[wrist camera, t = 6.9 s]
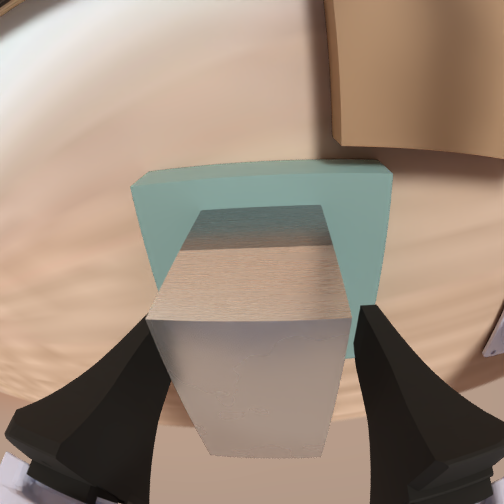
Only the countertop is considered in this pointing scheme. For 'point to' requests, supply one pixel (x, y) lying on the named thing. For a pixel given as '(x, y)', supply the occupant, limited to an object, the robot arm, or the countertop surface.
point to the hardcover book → (8, 5)
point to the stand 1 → (276, 194)
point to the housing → (255, 330)
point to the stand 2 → (417, 74)
